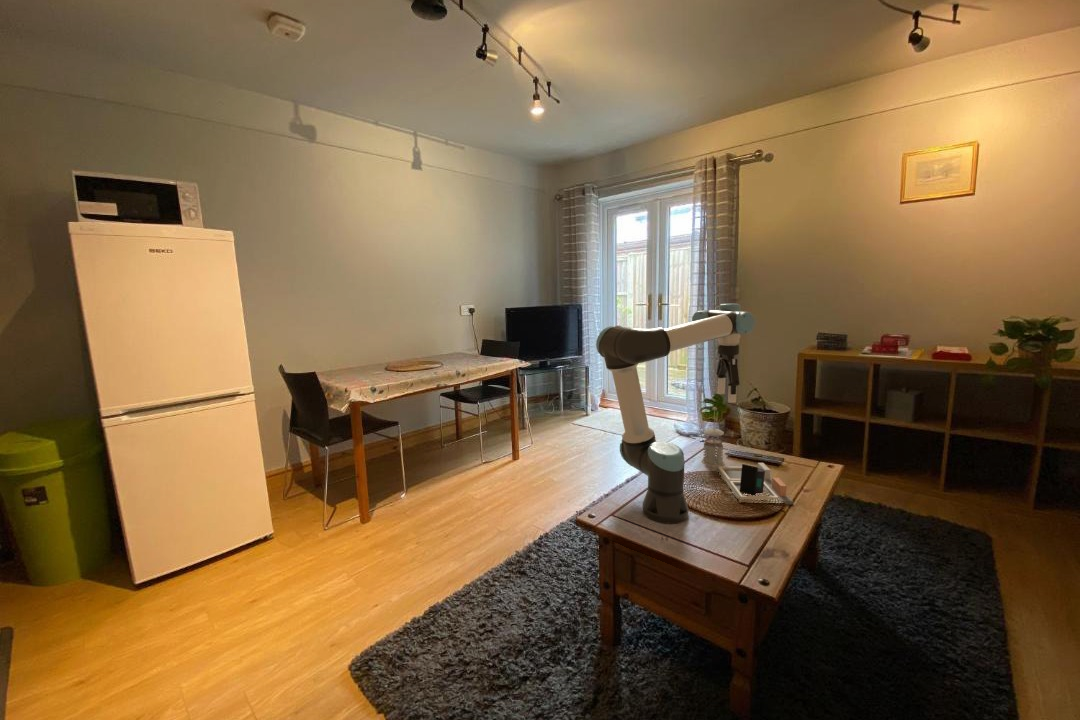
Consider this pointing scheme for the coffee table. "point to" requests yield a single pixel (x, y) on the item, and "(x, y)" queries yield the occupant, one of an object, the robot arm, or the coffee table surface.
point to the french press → (713, 447)
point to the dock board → (770, 485)
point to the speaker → (752, 479)
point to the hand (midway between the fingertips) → (726, 398)
